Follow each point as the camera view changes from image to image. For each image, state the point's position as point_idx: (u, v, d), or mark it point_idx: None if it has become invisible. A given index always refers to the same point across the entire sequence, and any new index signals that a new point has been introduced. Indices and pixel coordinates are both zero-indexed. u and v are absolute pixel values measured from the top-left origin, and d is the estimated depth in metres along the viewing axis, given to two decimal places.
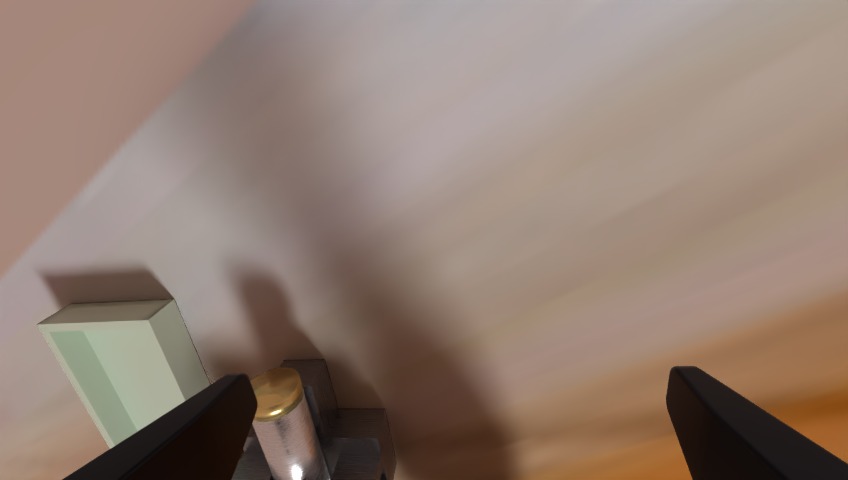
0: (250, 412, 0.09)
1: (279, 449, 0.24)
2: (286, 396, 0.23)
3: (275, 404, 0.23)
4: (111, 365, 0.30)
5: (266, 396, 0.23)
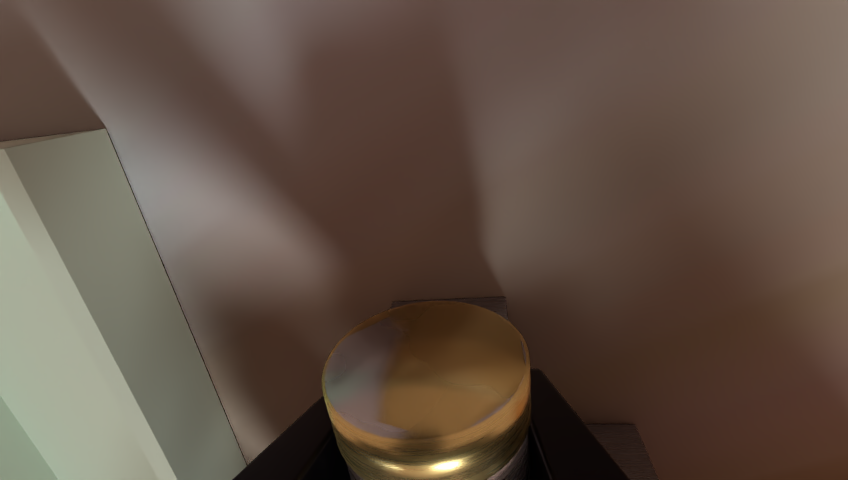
0: None
1: None
2: (509, 389, 0.06)
3: (483, 424, 0.05)
4: None
5: (425, 391, 0.06)
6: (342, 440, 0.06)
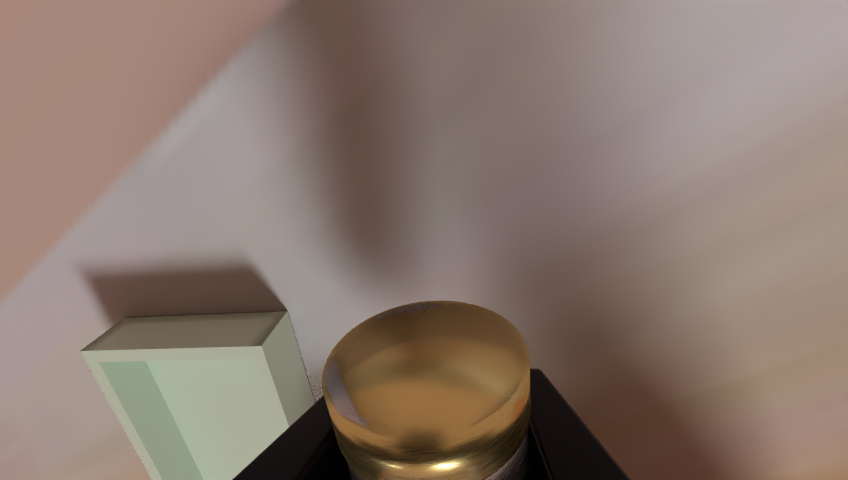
0: None
1: None
2: (509, 389, 0.06)
3: (483, 423, 0.05)
4: (182, 406, 0.21)
5: (425, 390, 0.06)
6: (343, 439, 0.06)
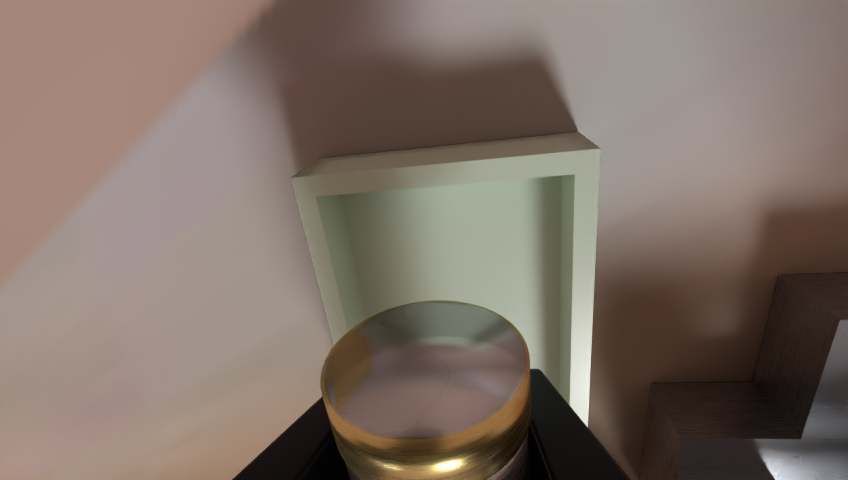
0: None
1: None
2: (509, 389, 0.06)
3: (483, 423, 0.05)
4: (382, 294, 0.15)
5: (424, 390, 0.06)
6: (341, 440, 0.06)
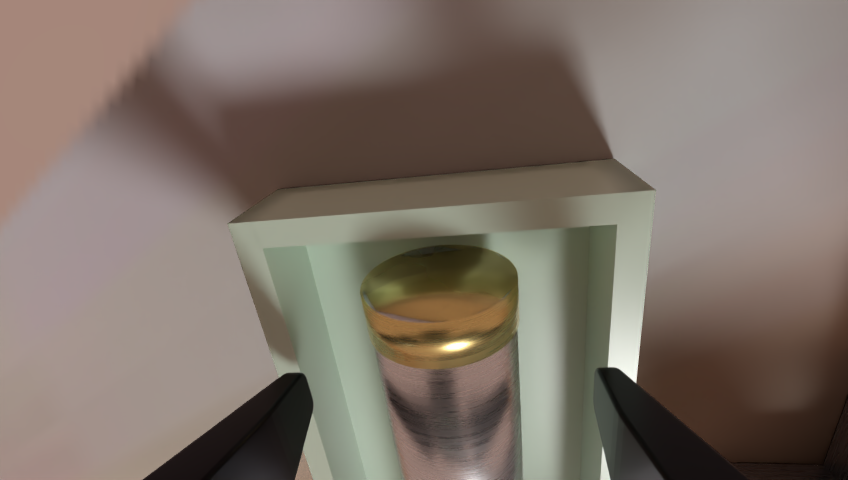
0: (308, 412, 0.09)
1: (467, 451, 0.09)
2: (502, 294, 0.08)
3: (483, 312, 0.07)
4: (361, 356, 0.12)
5: (440, 297, 0.08)
6: (378, 333, 0.08)
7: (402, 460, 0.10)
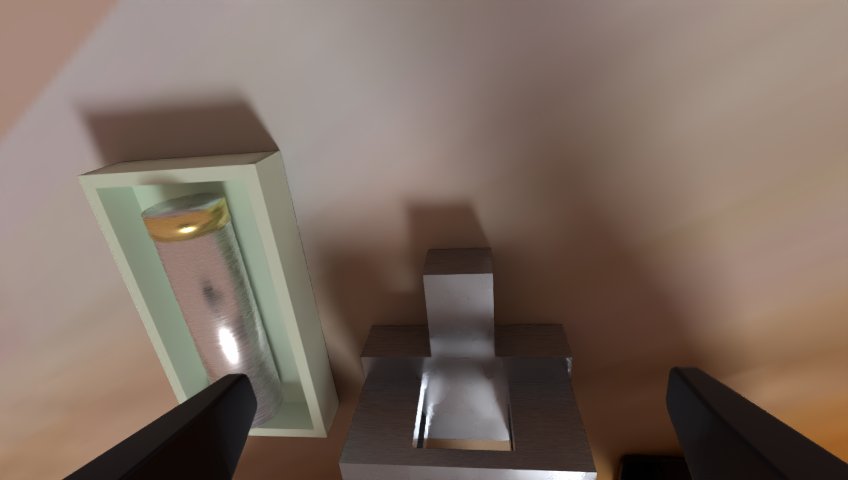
0: (250, 412, 0.09)
1: (197, 286, 0.18)
2: (204, 209, 0.17)
3: (188, 214, 0.17)
4: None
5: (176, 211, 0.17)
6: (146, 227, 0.17)
7: None
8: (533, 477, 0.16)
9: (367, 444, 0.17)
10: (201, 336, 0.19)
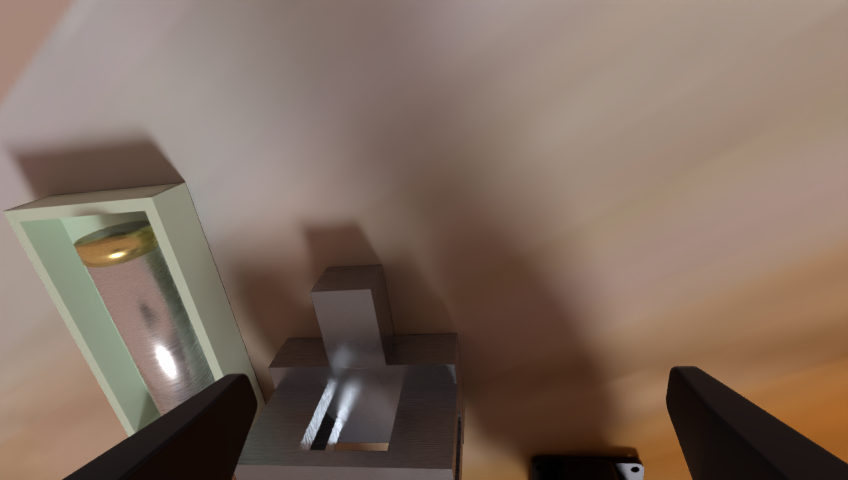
0: (250, 412, 0.09)
1: (148, 299, 0.20)
2: (145, 229, 0.20)
3: (135, 235, 0.19)
4: None
5: (116, 236, 0.20)
6: (88, 256, 0.19)
7: (119, 323, 0.20)
8: (399, 474, 0.17)
9: (260, 447, 0.19)
10: (153, 348, 0.21)
